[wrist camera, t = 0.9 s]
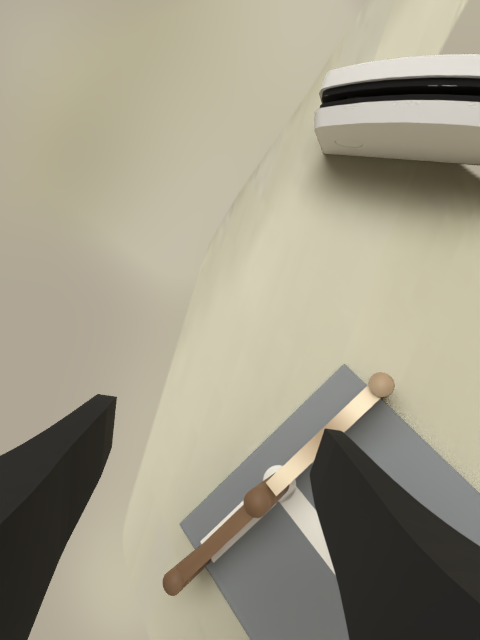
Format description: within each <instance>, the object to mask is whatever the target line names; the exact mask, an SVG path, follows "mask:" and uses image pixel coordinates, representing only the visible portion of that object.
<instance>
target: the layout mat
mask: <svg viewBox="0 0 480 640" xmlns="http://www.w3.org/2000/svg"><path fill="white" fill-rule="evenodd" d="M365 387H367V385H366V384H365V383H364V382H363V381H362V380H361V379H360V378H359V377H358V376H357V375H355V374H354V373H353V372H352V371H351V370H350V369H349V368H348V367H347V366H346V365H345V364H344V365H342V366H341V367H340V368H339V369H338V370H337V371H336V372H335V373H334V374H333V375H332V376H331V377H330V378H329V379H328V380H327V381H326V382H325V383H324V384H323V385H322V386H321V387H320V388H319V389H318V390H317V391H316V392H315V393H314V394H313V395H312V396H311V397H310V398H309V399H308V400H307V401H305V402H304V403H303V404H302V405H301V406H300V407H299V408H298V409H297V410H296V411H295V412H294V413H293V414H292V415H291V416H290V417H289V418H288V419H287V420H286V421H285V422H284V423H283V424H282V425H281V426H280V427H279V428H278V429H277V430H276V431H275V432H274V433H273V434H272V435H271V436H269V437H268V438H267V439H266V440H265V441H264V442H263V443H262V444H261V445H260V446H259V447H258V448H257V449H256V450H255V451H254V452H253V453H252V454H251V455H250V456H249V457H248V458H247V459H246V460H245V461H244V462H243V463H242V464H241V465H240V466H239V467H238V468H237V469H236V470H235V471H233V472H232V473H231V474H230V475H229V476H228V477H227V478H226V479H225V480H224V481H223V482H222V483H221V484H220V485H219V486H218V487H217V488H216V489H215V490H214V491H213V492H212V493H211V494H210V495H209V496H208V497H207V498H206V499H205V500H204V501H203V502H202V503H201V504H200V505H199V506H198V507H196V508H195V509H194V510H193V511H192V512H191V513H190V514H189V515H188V516H187V517H186V518H185V519H184V520H183V521H182V522H181V523H180V526H181V528H182V529H183V531H184V532H185V534H186V536H187V537H188V539H189V541H190V542H191V544H192V545H193V547H194V549H197V548H198V547H199V546H201V545H202V544H203V543H204V542H205V541H206V540H207V539H208V538H209V537H210V536H211V535H212V534H213V533H214V532H215V531H216V530H217V529H218V528H219V527H221V526H222V525H223V524H224V523H225V522H226V521H227V520H228V519H229V518H230V517H231V516H232V515H233V514H234V513H235V512H236V511H237V510H238V509H239V508H240V507H242V506H243V505H244V497H245V495H246V494H247V492H249V491H250V490H251V489H253V488H254V487H256V486H257V485H258V484H260V483H261V482H263V481H264V480H265V479H267V478H268V477H270V476H271V475H272V474H274V473H276V472H277V471H278V470H279V469H280V468H282V467H283V466H284V465H285V464H286V463H287V462H288V461H289V460H290V459H291V458H292V457H293V456H294V455H295V454H296V453H297V452H298V451H299V450H300V449H301V448H303V447H304V446H305V445H306V444H307V443H308V442H309V441H310V440H311V439H312V438H313V437H314V436H315V435H316V434H317V433H318V432H319V431H320V430H321V429H322V428H323V427H325V426H326V425H327V424H328V423H329V422H330V421H331V420H332V419H333V418H334V417H335V416H336V415H337V414H338V413H339V412H340V411H341V410H342V409H343V408H344V407H346V406H347V405H348V404H349V403H350V402H351V401H352V400H353V399H354V398H355V397H356V396H357V395H358V394H359V393H360V392H361V391H362V390H363V389H364V388H365ZM344 433H345V434H346V435H347V436H348V437H349V438H350V439H351V440H352V441H353V442H355V443H356V444H357V445H358V446H359V447H360V448H361V449H362V450H363V451H364V452H365V453H366V454H367V455H368V456H369V457H370V458H371V459H372V460H373V461H374V462H375V463H376V464H377V465H378V466H379V467H380V468H381V469H383V470H384V471H385V472H386V473H387V474H388V475H389V476H390V477H391V478H392V479H393V480H394V481H395V482H397V483H398V484H399V485H400V486H401V487H402V488H403V489H405V490H406V491H407V492H408V493H409V494H410V495H411V496H413V497H414V498H415V499H416V500H417V501H419V502H420V503H421V504H422V505H424V506H425V507H426V508H427V509H429V510H430V511H431V512H433V513H434V514H435V515H436V516H438V517H439V518H440V519H442V520H443V521H444V522H446V523H447V524H448V525H450V526H451V527H453V528H454V529H455V530H457V531H458V532H460V533H461V534H463V535H464V536H465V537H467V538H468V539H470V540H471V541H473V542H474V543H476V544H477V545H479V546H480V493H479V492H478V491H477V490H476V489H475V488H473V487H472V486H471V485H470V484H469V483H468V482H467V481H466V480H465V479H464V478H463V477H462V476H461V475H460V474H459V473H458V472H457V471H456V470H455V469H454V468H453V467H452V466H451V465H449V464H448V463H447V462H446V461H445V460H444V459H443V458H442V457H441V456H440V455H439V454H438V453H437V452H436V451H435V450H434V449H433V448H432V447H431V446H430V445H429V444H428V443H426V442H425V441H424V440H423V439H422V438H421V437H420V436H419V435H418V434H417V433H416V432H415V431H414V430H413V429H412V428H411V427H410V426H409V425H408V424H407V423H406V422H405V421H404V420H402V419H401V418H400V417H399V416H398V415H397V414H396V413H395V412H394V411H393V410H392V409H391V408H390V407H389V406H388V405H387V404H386V403H385V402H384V401H383V400H382V399H381V398H380V399H379V400H378V401H377V402H376V403H375V404H374V405H373V406H372V407H371V408H370V409H369V410H368V411H366V412H365V413H364V414H363V415H362V416H361V417H360V418H359V419H358V420H357V421H356V422H355V423H354V424H353V425H352V426H351V427H349V428H348V429H347V430H346V431H345V432H344ZM313 462H314V461H313ZM313 462H312V463H311V464H310V465H309V466H308V467H307V468H306V469H305V470H304V471H303V472H302V473H301V474H300V475H298V476H297V477H296V478H295V479H294V480H293V481H292V482H291V483H290V484H289V489H288V491H287V492H286V493H285V494H284V495H283V496H282V497H281V499H280V500H279V501H278V502H277V503H276V504H275V505H274V506H273V507H272V508H271V509H270V510H269V511H268V512H267V513H266V514H265V515H264V516H263V517H261V518H253V519H252V520H251V521H250V522H248V523H247V524H246V525H245V526H244V527H243V528H242V529H241V530H240V531H239V532H238V533H237V534H236V535H235V536H234V537H233V538H232V539H230V540H229V541H228V542H227V543H226V544H225V545H224V546H223V547H222V548H221V549H220V550H219V551H218V552H217V553H216V554H215V555H213V556H212V557H211V561H210V563H209V564H208V565H207V566H206V568H207V570H208V571H209V573H210V575H211V576H212V578H213V579H214V581H215V583H216V584H217V586H218V588H219V589H220V591H221V592H222V594H223V596H224V597H225V599H226V600H227V602H228V604H229V605H230V607H231V609H232V610H233V612H234V613H235V615H236V617H237V618H238V620H239V622H240V623H241V625H242V626H243V628H244V630H245V631H246V633H247V635H248V636H249V638H250V639H251V640H349V636H348V630H347V625H346V620H345V615H344V610H343V605H342V600H341V596H340V591H339V586H338V583H337V579H336V575H335V571H334V568H333V565H332V561H331V558H330V555H329V551H328V548H327V545H326V542H325V538H324V535H323V532H322V528H321V525H320V522H319V518H318V515H317V511H316V508H315V504H314V499H313V494H312V488H311V481H310V471H311V468H312V465H313Z"/></svg>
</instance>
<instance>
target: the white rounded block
mask: <svg viewBox="0 0 480 640" xmlns="http://www.w3.org/2000/svg"><path fill="white" fill-rule="evenodd" d="M319 95H320V98H321V102H322V105H320V109H317V110H316V111H315V133H316V136H317V138H318V141H319V143H320V146H321V149H322V151H323V154H336V155H350V156H364V157H378V158H391V159H405V160H419V161H433V162H446V163H460V164H467V165H480V54H479V55H478V54H449V55H430V56H415V57H403V58H395V59H387V60H380V61H372V62H366V63H361V64H356V65H351V66H346V67H342V68H338V69H334V70H331V71H329V72H328V73H327V74H326V76H325V79H324V81H323V84H322V87H321V89H320V92H319Z"/></svg>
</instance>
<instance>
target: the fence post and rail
mask: <svg viewBox="0 0 480 640" xmlns="http://www.w3.org/2000/svg"><path fill="white" fill-rule="evenodd" d="M274 474H275V473H274ZM274 474H272V475H271V476H270V477H268V478H267V479H265V480H264V481H263V482H261V483H260V484H258V485H257V486H256V487H254V488H253V489H251V490H250V491H249V492H247V494H246V495H245V497H244V505H243V506H242V507H240V508H239V509H238V510H237V511H236V512H235V513H234V514H233V515H232V516H231V517H230V518H229V519H228V520H227V521H226V522H225V523H224V524H223V525H222V526H221V527H219V528H218V529H217V530H216V531H215V532H214V533H213V534H212V535H211V536H210V537H209V538H208V539H207V540H206V541H205V542H204V543H203V544H202V545H201V546H199V547H198V548H197V549H195V550H194V551H193V552H192V553H190V554H189V555H188V556H187V557H186V558H184V559H183V560H182V561H181V562H180V563H178V564H177V565H176V566H175V567H174V568H172V569H171V570H170V571H169V572H167V573H166V574H165V576H164V578H163V587H164V590H165V591H166V593H167V594H169V595H171V596H175V595H177V594H178V593H179V592H180V591H181V590H182V589H183V588H184V587H185V586H186V585H187V584H188V583H189V582H190V581H191V580H192V579H193V578H194V577H195V576H196V575H197V574H198V573H199V572H200V571H202V570H203V569H204V568H205V567H206V566H207V565H208V564H209V563H210V561H211V557H212V556H213V555H215V554H216V553H217V552H218V551H219V550H220V549H221V548H222V547H223V546H224V545H225V544H226V543H227V542H228V541H229V540H230V539H232V538H233V537H234V536H235V535H236V534H237V533H238V532H239V531H240V530H241V529H242V528H243V527H244V526H245V525H246V524H247V523H248V522H250V521H251V520H252V519H253V518H261V517H263V516H264V515H265V514H266V513H267V512H268V511H269V510H270V509H271V508H272V507H273V506H274V505H275V504H276V503H277V502H278V501H279V500H280V499H281V497H282V496H283V495H284V494H285V493H286V492H287V491H288V489H289V485H288V486H287V487H286V488H285V489H284V490H283V491H282V492H280V493H279V494H278V495H277V496H276V495H275V494H274V493H273V491H272V490H271V489H270V488H269V486H268V485H267V484H266V482H267V481H268V480H269V479H270V478H271V477H272V476H273V475H274Z"/></svg>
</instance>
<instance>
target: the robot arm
mask: <svg viewBox="0 0 480 640" xmlns="http://www.w3.org/2000/svg"><path fill="white" fill-rule="evenodd" d="M116 399H117V397H114V396H106V395H100V394H97V395H96V396H94V397H93V398H91V399H90V400H89V401H87V402H86V403H84V404H83V405H82V406H80V407H79V408H77V409H76V410H75V411H73V412H72V413H70V414H69V415H68V416H66V417H64V418H63V419H62V420H60V421H58V422H57V423H56V424H54V425H53V426H51V427H50V428H48V429H46V430H45V431H43V432H42V433H40V434H39V435H37V436H35V437H33V438H32V439H30V440H28V441H27V442H25V443H24V444H22V445H20V446H18V447H16V448H15V449H13V450H11V451H9V452H7V453H5V454H3V455H1V456H0V640H27V639H28V637H29V634H30V632H31V629H32V627H33V624H34V622H35V619H36V616H37V614H38V611H39V609H40V606H41V604H42V601H43V599H44V596H45V594H46V591H47V589H48V586H49V583H50V581H51V579H52V576H53V574H54V571H55V569H56V566H57V564H58V561H59V559H60V557H61V555H62V553H63V551H64V548H65V546H66V544H67V542H68V540H69V538H70V536H71V534H72V532H73V530H74V528H75V526H76V524H77V523H78V521H79V519H80V517H81V515H82V513H83V511H84V509H85V507H86V505H87V503H88V501H89V499H90V497H91V495H92V493H93V491H94V489H95V487H96V485H97V483H98V481H99V479H100V477H101V475H102V472H103V469H104V467H105V464H106V461H107V459H108V456H109V453H110V451H111V448H112V438H113V428H114V419H115V409H116ZM310 481H311V488H312V494H313V499H314V504H315V508H316V511H317V515H318V518H319V522H320V525H321V528H322V532H323V535H324V538H325V542H326V545H327V548H328V551H329V555H330V558H331V561H332V565H333V568H334V571H335V575H336V579H337V583H338V586H339V591H340V596H341V600H342V605H343V610H344V615H345V620H346V625H347V630H348V636H349V640H480V546H479V545H477V544H476V543H474V542H473V541H471V540H470V539H468V538H467V537H465V536H464V535H463V534H461V533H460V532H458V531H457V530H455V529H454V528H453V527H451V526H450V525H448V524H447V523H446V522H444V521H443V520H442V519H440V518H439V517H438V516H436V515H435V514H434V513H433V512H431V511H430V510H429V509H427V508H426V507H425V506H424V505H422V504H421V503H420V502H419V501H417V500H416V499H415V498H414V497H413V496H411V495H410V494H409V493H408V492H407V491H406V490H405V489H403V488H402V487H401V486H400V485H399V484H398V483H397V482H395V481H394V480H393V479H392V478H391V477H390V476H389V475H388V474H387V473H386V472H385V471H384V470H383V469H381V468H380V467H379V466H378V465H377V464H376V463H375V462H374V461H373V460H372V459H371V458H370V457H369V456H368V455H367V454H366V453H365V452H364V451H363V450H362V449H361V448H360V447H359V446H358V445H357V444H356V443H355V442H353V441H352V440H351V439H350V438H349V437H348V436H347V435H346V434H345V433H344V432H342V431H340V430H333V429H326V428H325V429H324V432H323V435H322V438H321V441H320V444H319V447H318V450H317V453H316V456H315V459H314V462H313V465H312V468H311V471H310Z"/></svg>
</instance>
